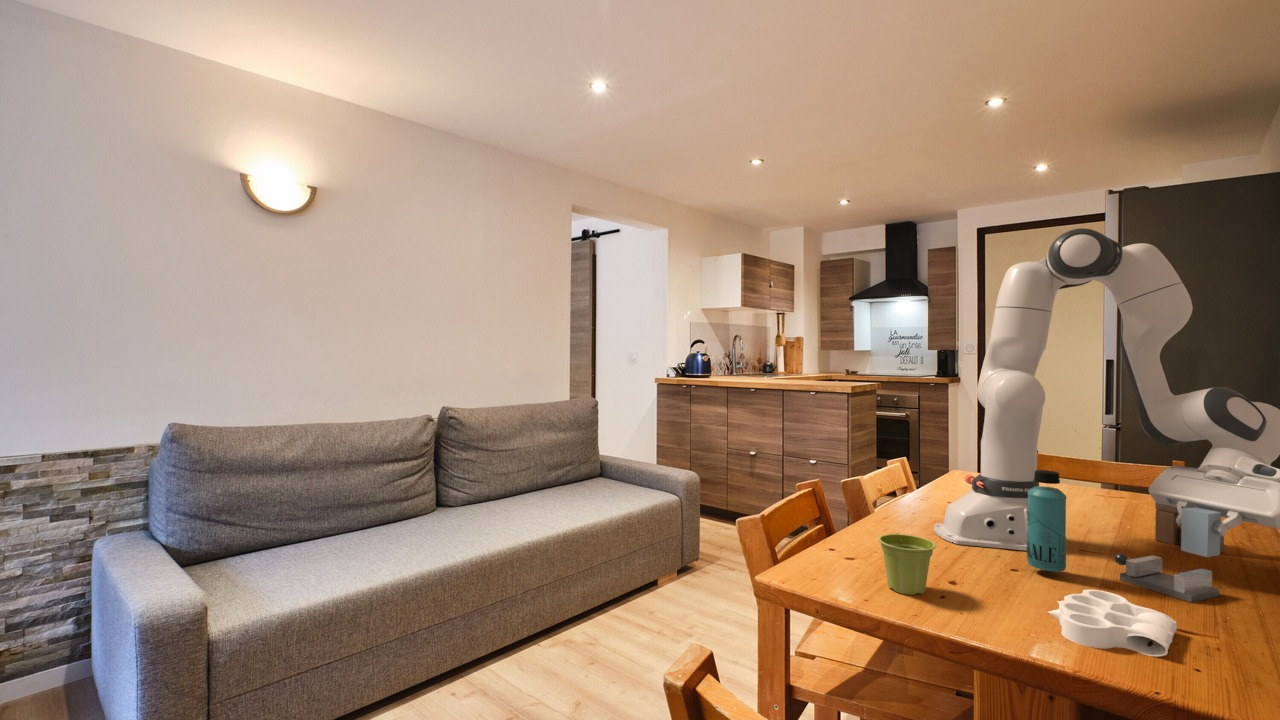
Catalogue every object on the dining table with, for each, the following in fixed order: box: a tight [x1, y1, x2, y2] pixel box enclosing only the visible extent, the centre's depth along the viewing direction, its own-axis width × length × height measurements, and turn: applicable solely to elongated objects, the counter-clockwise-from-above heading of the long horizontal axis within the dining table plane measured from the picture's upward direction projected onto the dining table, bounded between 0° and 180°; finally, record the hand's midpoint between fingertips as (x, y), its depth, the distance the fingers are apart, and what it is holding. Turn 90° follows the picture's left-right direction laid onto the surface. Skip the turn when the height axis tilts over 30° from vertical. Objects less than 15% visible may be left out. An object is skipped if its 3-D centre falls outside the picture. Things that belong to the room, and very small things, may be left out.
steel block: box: [1180, 507, 1222, 558], centre depth 111 cm, size 4×4×8 cm
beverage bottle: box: [1026, 469, 1067, 572], centre depth 114 cm, size 6×7×20 cm
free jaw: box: [1113, 553, 1163, 577], centre depth 113 cm, size 8×6×3 cm
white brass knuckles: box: [1047, 589, 1178, 657], centre depth 91 cm, size 3×18×15 cm
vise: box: [1119, 568, 1220, 603], centre depth 107 cm, size 8×11×4 cm
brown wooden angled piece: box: [1154, 466, 1225, 554], centre depth 131 cm, size 4×11×18 cm, turn 29°
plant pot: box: [878, 533, 937, 596], centre depth 107 cm, size 9×9×9 cm
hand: (1198, 528), depth 111 cm, fingers closed on steel block, 4 cm apart
